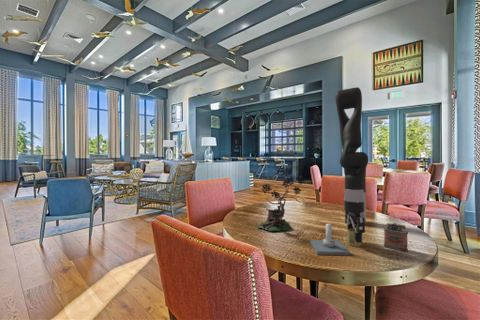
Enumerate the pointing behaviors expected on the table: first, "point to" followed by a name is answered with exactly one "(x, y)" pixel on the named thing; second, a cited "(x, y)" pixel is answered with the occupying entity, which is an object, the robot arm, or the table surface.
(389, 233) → the small tin
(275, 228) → the bonsai tree
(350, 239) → the bushing
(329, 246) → the grey peg stand
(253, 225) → the table surface
